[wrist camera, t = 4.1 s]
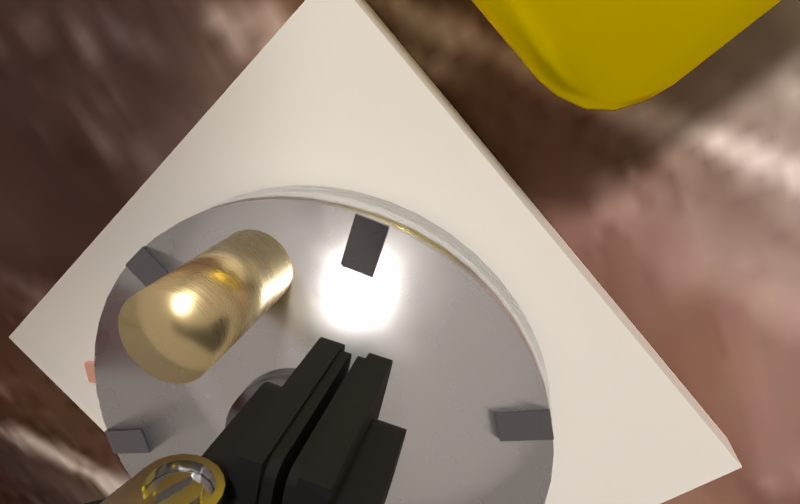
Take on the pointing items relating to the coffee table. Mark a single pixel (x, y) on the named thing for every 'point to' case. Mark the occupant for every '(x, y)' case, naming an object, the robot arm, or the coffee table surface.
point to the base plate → (432, 199)
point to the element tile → (616, 42)
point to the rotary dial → (333, 319)
